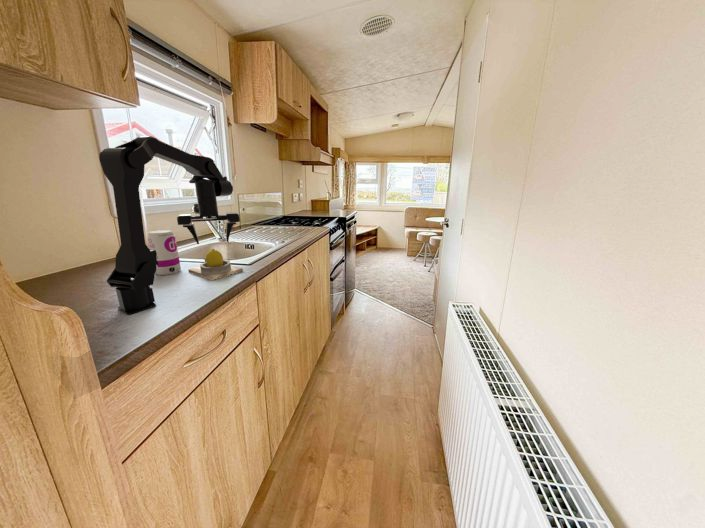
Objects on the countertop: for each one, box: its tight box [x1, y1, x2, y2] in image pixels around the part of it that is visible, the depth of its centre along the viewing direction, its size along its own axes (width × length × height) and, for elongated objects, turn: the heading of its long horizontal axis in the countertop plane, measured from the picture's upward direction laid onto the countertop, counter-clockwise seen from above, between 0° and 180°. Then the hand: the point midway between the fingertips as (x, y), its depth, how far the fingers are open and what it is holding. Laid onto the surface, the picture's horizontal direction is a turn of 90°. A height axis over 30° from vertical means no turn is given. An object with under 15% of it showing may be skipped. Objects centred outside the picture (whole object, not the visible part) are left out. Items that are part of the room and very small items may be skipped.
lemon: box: [205, 248, 224, 267], centre depth 99 cm, size 6×6×8 cm
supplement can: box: [146, 229, 182, 276], centre depth 99 cm, size 8×8×15 cm
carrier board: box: [188, 256, 244, 281], centre depth 102 cm, size 12×15×4 cm
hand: (213, 242), depth 97 cm, fingers open, 9 cm apart
